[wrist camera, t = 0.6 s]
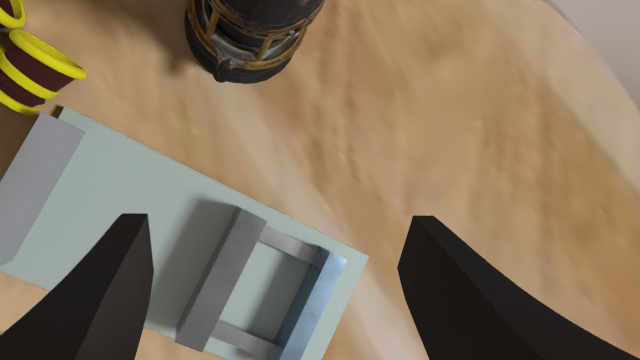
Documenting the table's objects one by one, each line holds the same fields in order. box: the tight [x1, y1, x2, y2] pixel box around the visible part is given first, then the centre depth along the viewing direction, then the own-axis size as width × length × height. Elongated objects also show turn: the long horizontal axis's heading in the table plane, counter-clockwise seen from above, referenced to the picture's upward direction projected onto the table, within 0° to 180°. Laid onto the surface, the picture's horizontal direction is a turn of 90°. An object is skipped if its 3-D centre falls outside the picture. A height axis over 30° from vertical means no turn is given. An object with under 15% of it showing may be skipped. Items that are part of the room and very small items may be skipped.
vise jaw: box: [175, 206, 347, 360], centre depth 33 cm, size 10×9×4 cm
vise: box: [0, 107, 369, 360], centre depth 33 cm, size 12×26×4 cm, turn 63°
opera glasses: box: [0, 0, 87, 115], centre depth 29 cm, size 10×5×5 cm, turn 37°
